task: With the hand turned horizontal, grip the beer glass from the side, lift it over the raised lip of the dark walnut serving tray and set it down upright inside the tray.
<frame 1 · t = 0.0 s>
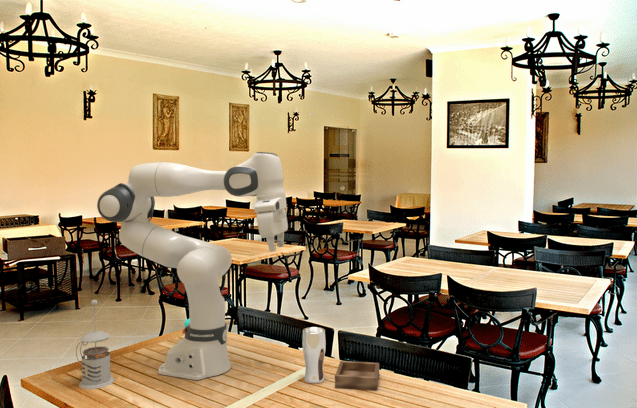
hand: (276, 249, 153), 39 cm above the table, tool pointing down, fingers open, 8 cm apart
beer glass: (314, 380, 150), on the table
french press: (94, 382, 149), on the table
walnut tray: (357, 380, 148), on the table
donuts: (199, 346, 181), on the table
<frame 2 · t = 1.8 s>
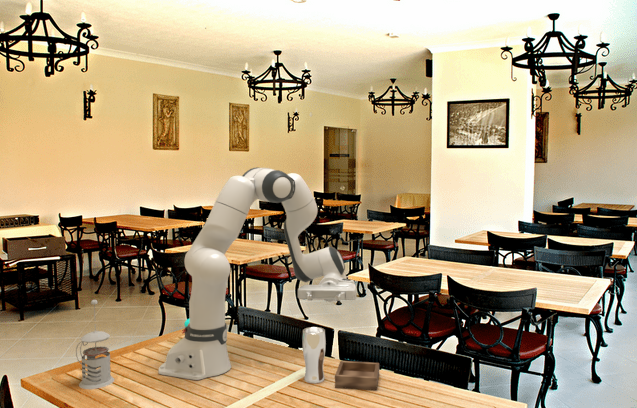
hand: (323, 298, 164), 21 cm above the table, tool horizontal, fingers open, 8 cm apart
nothing on the table moved.
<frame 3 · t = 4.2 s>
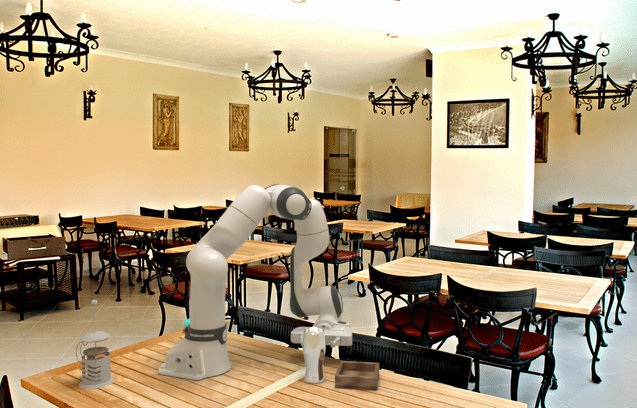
hand: (317, 344, 156), 8 cm above the table, tool horizontal, fingers open, 8 cm apart
nothing on the table moved.
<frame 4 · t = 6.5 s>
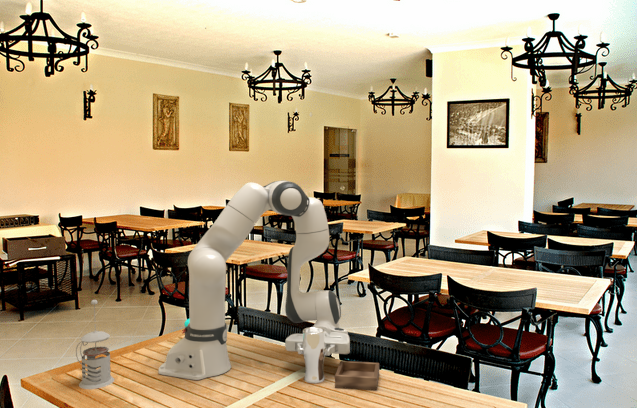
hand: (313, 352, 148), 9 cm above the table, tool horizontal, fingers closed on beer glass, 7 cm apart
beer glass: (314, 380, 150), on the table, touching gripper
everything else where it was.
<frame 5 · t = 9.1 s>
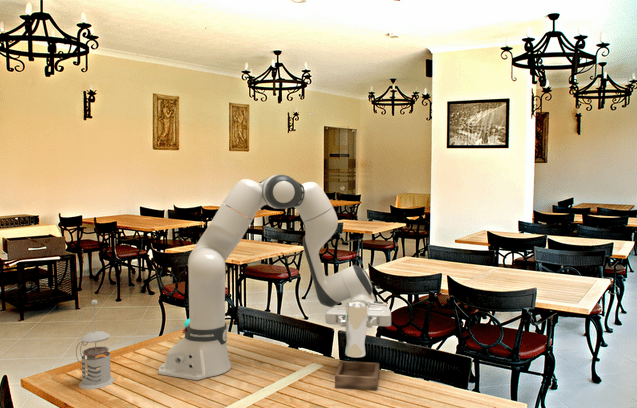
hand: (356, 324, 147), 17 cm above the table, tool horizontal, fingers closed on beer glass, 7 cm apart
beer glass: (355, 354, 148), point 8 cm above the table, touching gripper
everything else where it was.
when the fingers open (10 cm above the table, at t = 11.7 s): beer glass stays where it is, resting on walnut tray.
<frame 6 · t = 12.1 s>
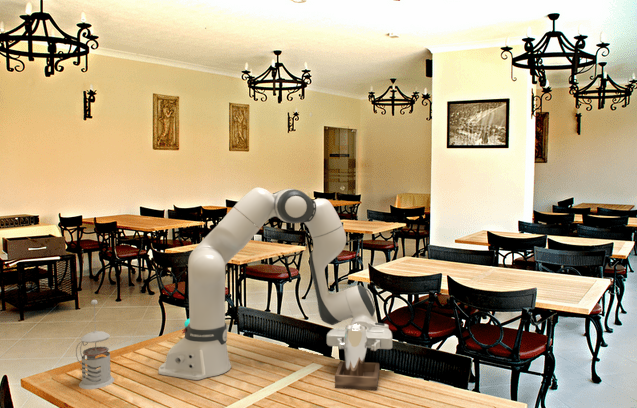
hand: (357, 347, 147), 10 cm above the table, tool horizontal, fingers open, 8 cm apart
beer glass: (353, 377, 148), point 1 cm above the table, touching gripper, walnut tray
everything else where it was.
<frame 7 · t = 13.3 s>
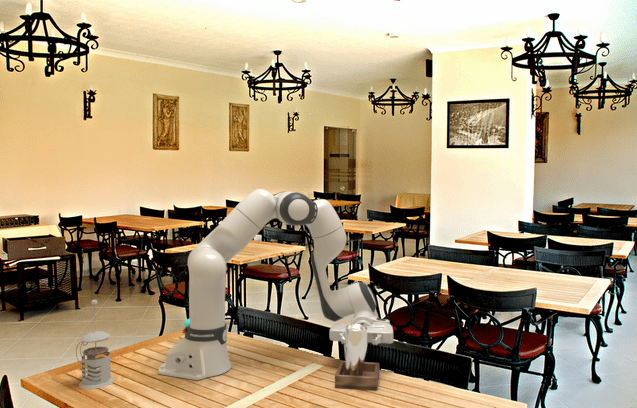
hand: (359, 341, 151), 11 cm above the table, tool horizontal, fingers open, 8 cm apart
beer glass: (353, 377, 148), point 1 cm above the table, touching walnut tray
everything else where it was.
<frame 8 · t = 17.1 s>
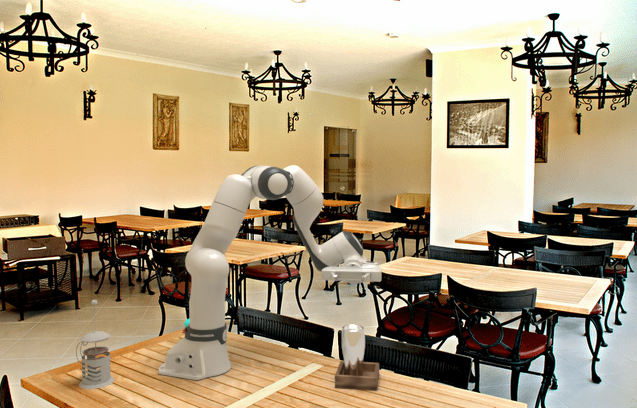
hand: (349, 278, 160), 28 cm above the table, tool horizontal, fingers open, 8 cm apart
at the end: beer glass 1.2 cm off-centre on the walnut tray, point 0.8 cm above the walnut tray's base; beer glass tilted 1°; the gripper is holding nothing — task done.
